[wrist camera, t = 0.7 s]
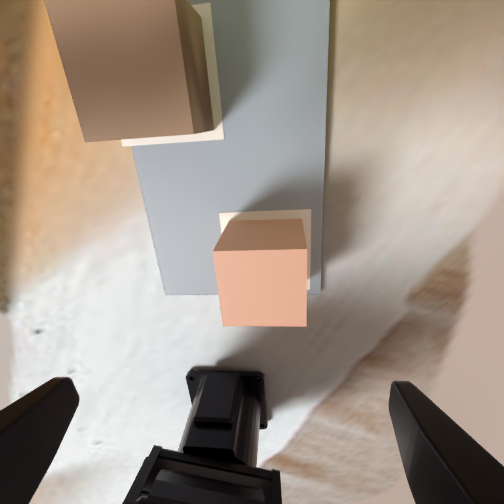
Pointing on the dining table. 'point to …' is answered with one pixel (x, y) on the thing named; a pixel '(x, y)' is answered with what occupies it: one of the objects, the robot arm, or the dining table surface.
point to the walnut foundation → (134, 67)
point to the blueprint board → (243, 140)
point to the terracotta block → (262, 273)
